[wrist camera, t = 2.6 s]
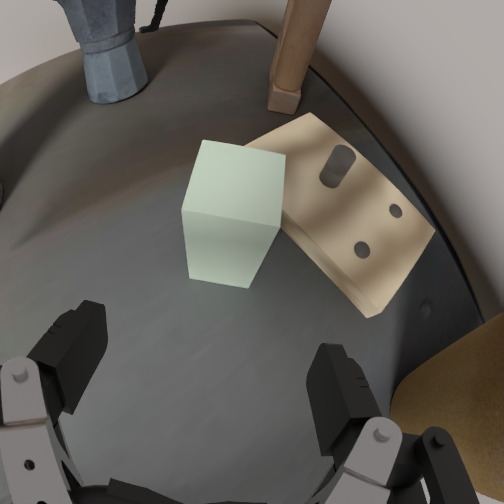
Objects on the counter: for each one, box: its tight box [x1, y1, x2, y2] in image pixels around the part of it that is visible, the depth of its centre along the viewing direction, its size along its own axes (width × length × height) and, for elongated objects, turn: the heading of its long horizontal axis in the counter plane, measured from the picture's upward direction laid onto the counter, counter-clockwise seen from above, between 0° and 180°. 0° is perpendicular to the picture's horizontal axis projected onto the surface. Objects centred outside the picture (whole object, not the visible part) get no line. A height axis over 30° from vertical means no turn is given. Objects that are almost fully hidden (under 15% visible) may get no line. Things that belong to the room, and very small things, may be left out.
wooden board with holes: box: [244, 112, 435, 318], centre depth 27 cm, size 20×13×6 cm, turn 43°
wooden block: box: [267, 0, 332, 115], centre depth 28 cm, size 4×11×18 cm, turn 176°
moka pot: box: [53, 0, 168, 104], centre depth 24 cm, size 10×15×20 cm, turn 94°
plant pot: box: [390, 312, 504, 502], centre depth 15 cm, size 15×15×16 cm
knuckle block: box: [182, 140, 286, 288], centre depth 20 cm, size 5×5×11 cm
